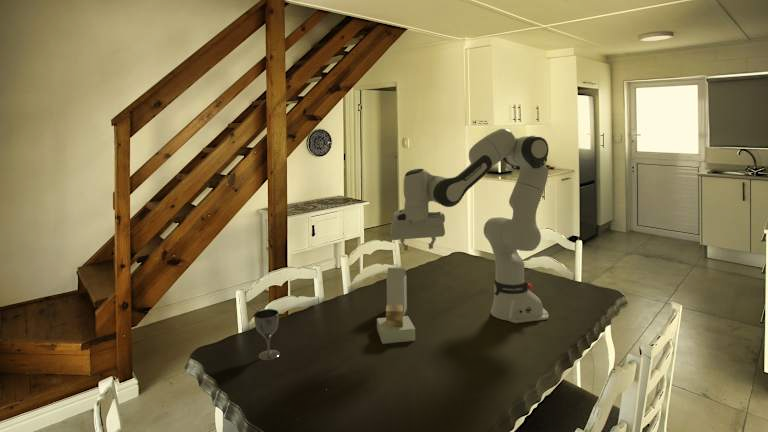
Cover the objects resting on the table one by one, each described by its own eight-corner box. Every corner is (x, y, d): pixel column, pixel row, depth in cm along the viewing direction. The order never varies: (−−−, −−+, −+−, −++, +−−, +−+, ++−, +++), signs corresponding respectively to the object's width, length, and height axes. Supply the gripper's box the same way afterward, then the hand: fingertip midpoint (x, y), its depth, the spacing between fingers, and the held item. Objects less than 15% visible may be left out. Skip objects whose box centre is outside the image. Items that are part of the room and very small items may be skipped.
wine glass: (269, 347, 164) (267, 307, 162) (285, 353, 160) (283, 312, 157) (252, 356, 158) (248, 315, 155) (268, 363, 153) (265, 320, 151)
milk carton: (404, 315, 190) (403, 271, 186) (387, 314, 191) (386, 270, 188) (406, 309, 197) (406, 265, 193) (390, 308, 198) (389, 265, 194)
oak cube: (402, 320, 174) (402, 305, 173) (402, 326, 168) (402, 311, 167) (386, 320, 174) (386, 305, 173) (386, 326, 169) (386, 311, 167)
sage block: (407, 327, 179) (407, 315, 178) (415, 341, 168) (415, 328, 167) (377, 330, 177) (376, 318, 176) (382, 344, 166) (382, 331, 165)
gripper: (443, 209, 176) (444, 245, 179) (389, 213, 175) (391, 248, 178) (446, 213, 170) (447, 249, 172) (390, 216, 169) (392, 253, 172)
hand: (418, 249), depth 175 cm, fingers open, 8 cm apart
